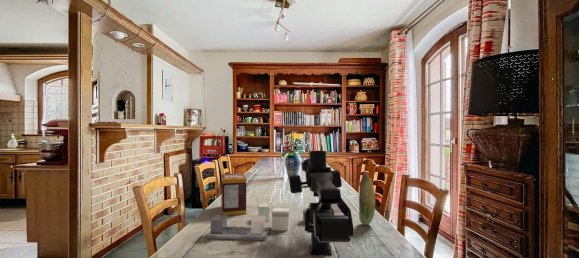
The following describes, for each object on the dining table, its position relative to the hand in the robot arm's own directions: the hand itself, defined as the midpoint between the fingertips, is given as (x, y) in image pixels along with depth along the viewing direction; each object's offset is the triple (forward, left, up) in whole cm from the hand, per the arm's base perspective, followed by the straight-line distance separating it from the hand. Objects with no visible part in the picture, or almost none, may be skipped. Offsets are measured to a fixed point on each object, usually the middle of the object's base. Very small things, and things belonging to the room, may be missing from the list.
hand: (313, 181), depth 114 cm
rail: (-14, +26, -16) cm, 34 cm away
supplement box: (+17, +36, -17) cm, 43 cm away
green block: (+4, +20, -17) cm, 26 cm away
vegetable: (0, -21, -17) cm, 27 cm away
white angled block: (+7, -10, -17) cm, 21 cm away
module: (-6, +12, -17) cm, 21 cm away
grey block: (+3, +1, -17) cm, 17 cm away
